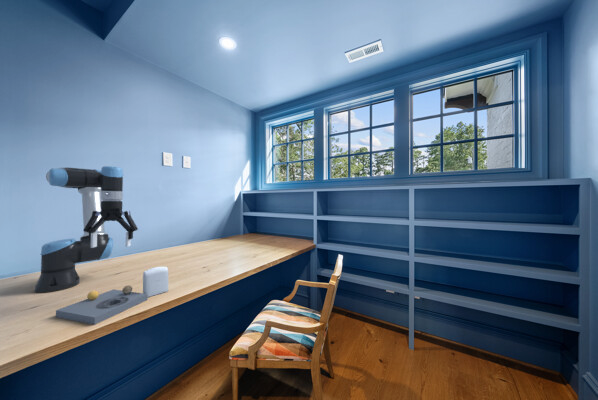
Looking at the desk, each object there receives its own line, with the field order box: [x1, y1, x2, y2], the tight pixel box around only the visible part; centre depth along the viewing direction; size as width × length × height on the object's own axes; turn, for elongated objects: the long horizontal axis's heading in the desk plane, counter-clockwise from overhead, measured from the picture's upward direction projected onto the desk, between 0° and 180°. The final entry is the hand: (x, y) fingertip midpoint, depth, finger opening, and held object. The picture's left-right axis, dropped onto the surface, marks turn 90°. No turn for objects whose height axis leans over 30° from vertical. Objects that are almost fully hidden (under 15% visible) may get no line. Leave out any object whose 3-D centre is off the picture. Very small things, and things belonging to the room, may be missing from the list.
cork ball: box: [122, 285, 133, 294], centre depth 96 cm, size 4×4×4 cm
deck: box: [55, 289, 149, 326], centre depth 88 cm, size 20×20×2 cm
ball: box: [86, 290, 100, 300], centre depth 90 cm, size 4×4×4 cm
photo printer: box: [142, 266, 169, 298], centre depth 102 cm, size 10×4×12 cm, turn 140°
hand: (111, 246), depth 99 cm, fingers open, 13 cm apart
